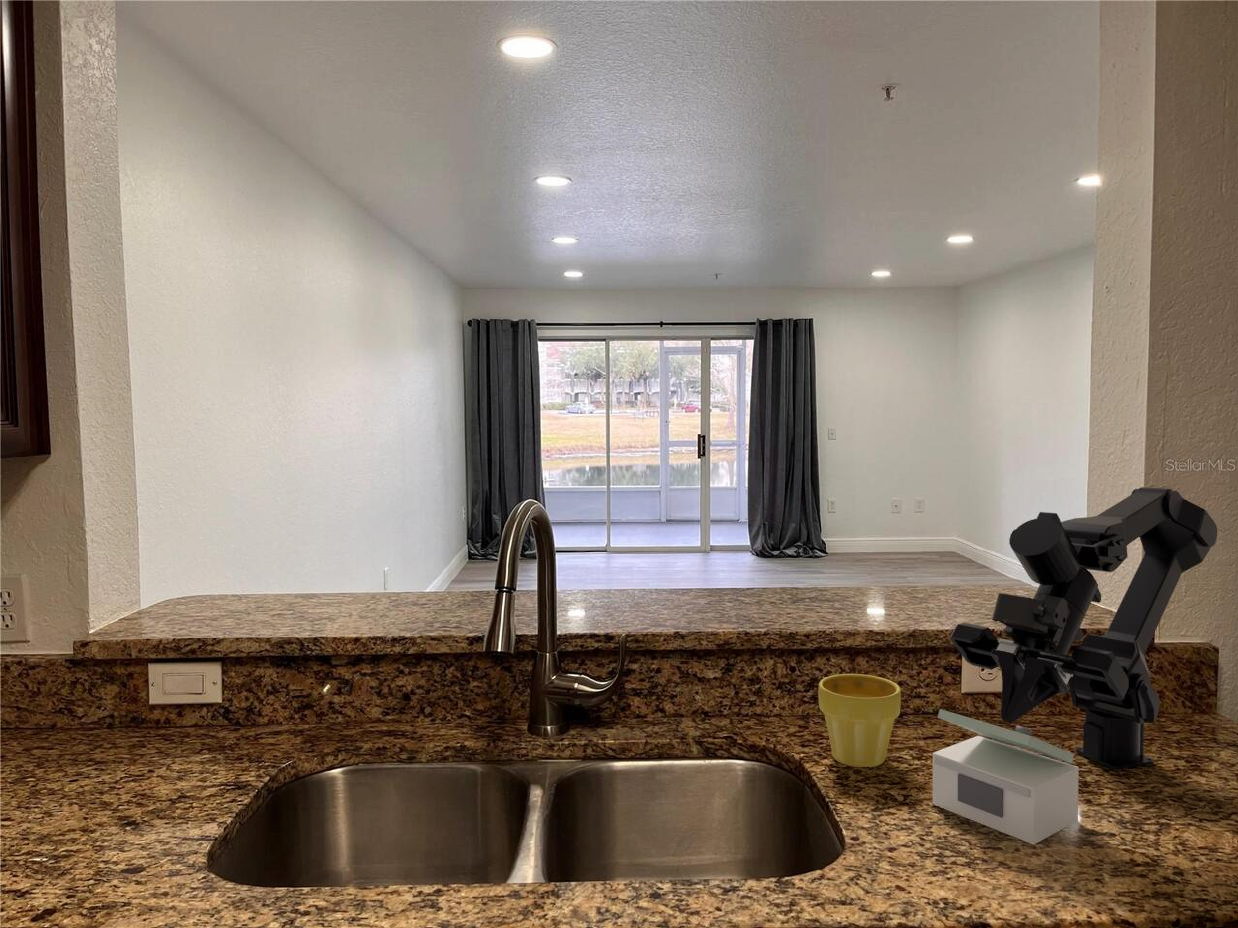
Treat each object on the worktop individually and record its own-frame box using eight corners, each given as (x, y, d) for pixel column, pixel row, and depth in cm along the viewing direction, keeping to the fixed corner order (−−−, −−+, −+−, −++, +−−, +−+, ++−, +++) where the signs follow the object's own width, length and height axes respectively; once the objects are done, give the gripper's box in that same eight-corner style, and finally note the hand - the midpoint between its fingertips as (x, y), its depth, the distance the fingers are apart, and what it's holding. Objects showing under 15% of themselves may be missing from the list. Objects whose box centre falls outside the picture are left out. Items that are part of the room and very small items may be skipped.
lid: (983, 735, 104) (986, 720, 104) (1072, 763, 95) (1075, 746, 96) (937, 717, 99) (941, 701, 99) (1027, 744, 90) (1031, 727, 90)
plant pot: (905, 776, 107) (905, 699, 107) (819, 771, 109) (819, 694, 109) (896, 746, 118) (896, 674, 117) (817, 741, 120) (817, 671, 119)
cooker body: (977, 784, 105) (978, 735, 105) (1077, 820, 95) (1078, 766, 95) (930, 804, 99) (931, 753, 99) (1032, 845, 90) (1032, 788, 89)
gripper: (958, 557, 107) (903, 661, 101) (1117, 578, 92) (1062, 702, 86) (994, 611, 112) (943, 713, 106) (1150, 639, 97) (1101, 760, 91)
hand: (1005, 720), depth 97 cm, fingers closed
